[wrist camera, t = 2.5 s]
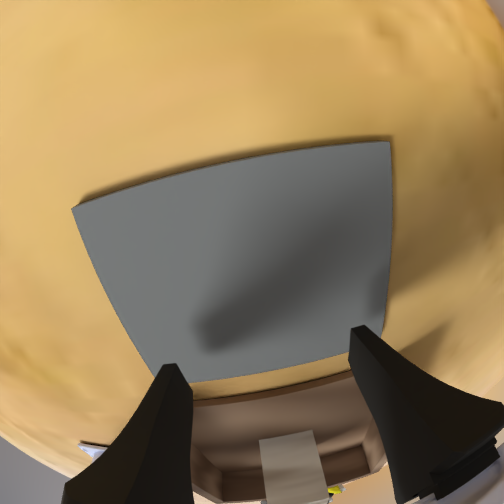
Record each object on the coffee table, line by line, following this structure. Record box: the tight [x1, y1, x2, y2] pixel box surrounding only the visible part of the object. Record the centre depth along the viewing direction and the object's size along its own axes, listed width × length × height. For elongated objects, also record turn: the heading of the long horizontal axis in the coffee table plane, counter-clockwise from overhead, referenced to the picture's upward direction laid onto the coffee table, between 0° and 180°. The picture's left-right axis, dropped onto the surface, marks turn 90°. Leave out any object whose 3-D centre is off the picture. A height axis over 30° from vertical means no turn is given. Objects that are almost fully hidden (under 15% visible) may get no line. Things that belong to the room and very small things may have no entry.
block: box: [259, 430, 330, 504], centre depth 15 cm, size 4×4×6 cm
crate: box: [190, 370, 387, 504], centre depth 16 cm, size 15×16×4 cm
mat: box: [71, 141, 393, 383], centre depth 11 cm, size 10×12×1 cm
